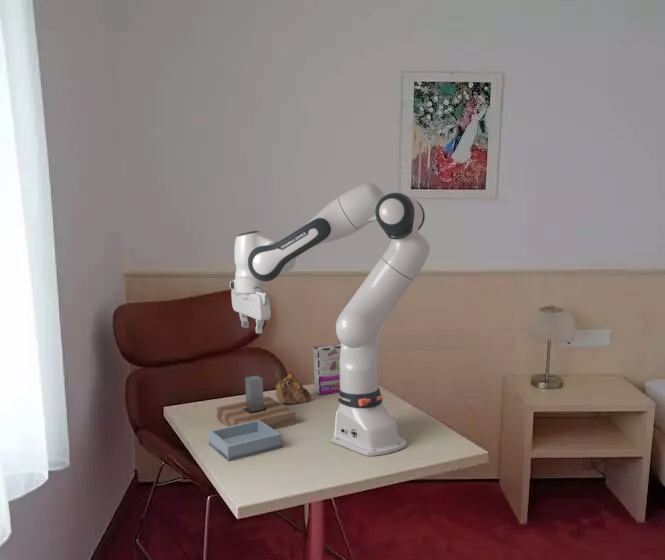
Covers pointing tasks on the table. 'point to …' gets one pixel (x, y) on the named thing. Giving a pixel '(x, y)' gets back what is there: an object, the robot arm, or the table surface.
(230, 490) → the table surface
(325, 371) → the candy bar box
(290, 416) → the block
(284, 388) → the decorative rock
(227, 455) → the tray
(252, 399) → the pin
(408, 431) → the table surface
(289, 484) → the table surface
